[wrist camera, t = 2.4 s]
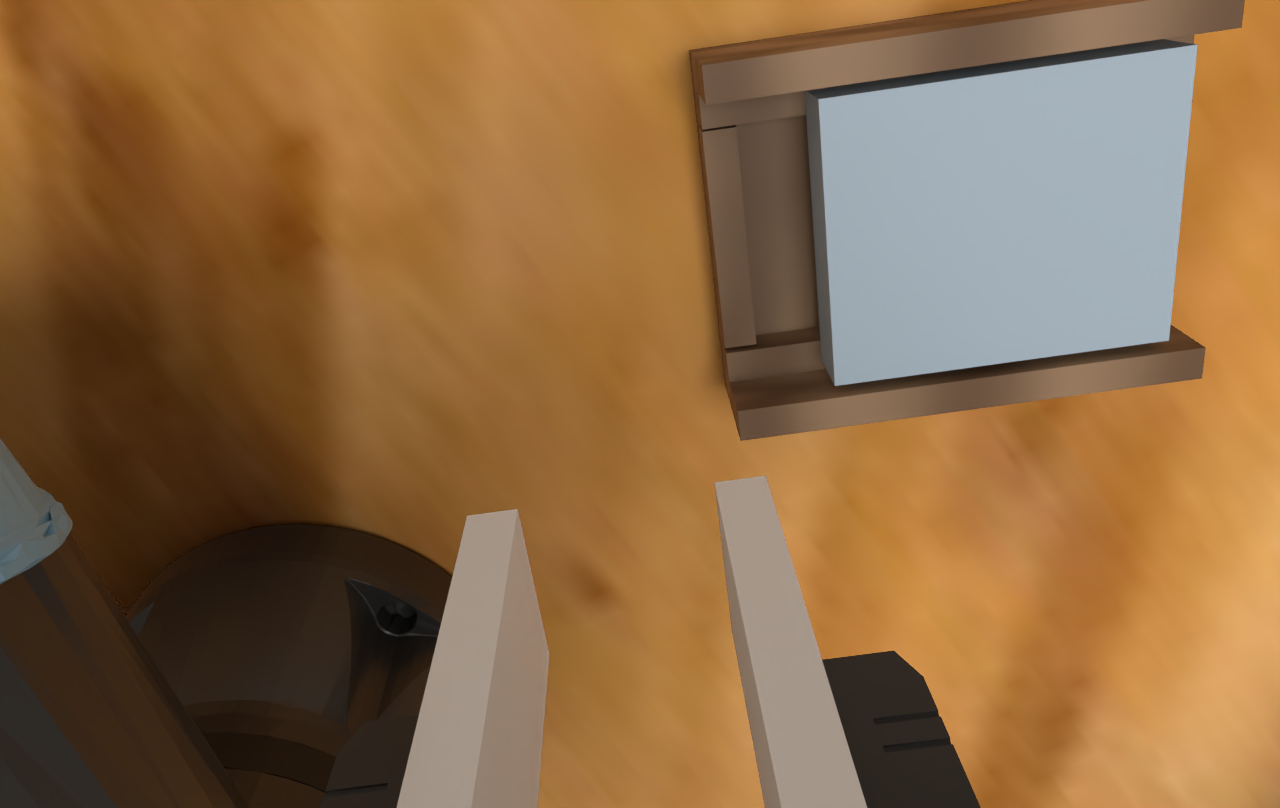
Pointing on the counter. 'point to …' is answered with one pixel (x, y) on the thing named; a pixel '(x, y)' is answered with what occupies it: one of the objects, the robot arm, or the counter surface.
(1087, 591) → the counter surface
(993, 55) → the lid box
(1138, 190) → the cover plate
